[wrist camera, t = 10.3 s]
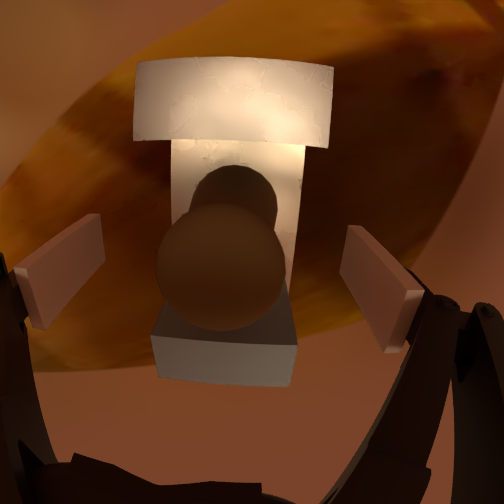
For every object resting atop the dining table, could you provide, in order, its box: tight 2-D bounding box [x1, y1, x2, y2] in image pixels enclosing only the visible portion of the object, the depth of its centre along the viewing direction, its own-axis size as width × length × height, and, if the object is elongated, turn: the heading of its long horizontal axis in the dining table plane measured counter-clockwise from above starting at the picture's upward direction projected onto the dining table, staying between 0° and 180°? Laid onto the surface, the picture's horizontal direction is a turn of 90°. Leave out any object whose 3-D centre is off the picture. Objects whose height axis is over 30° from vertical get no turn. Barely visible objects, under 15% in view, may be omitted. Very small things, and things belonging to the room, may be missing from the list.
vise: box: [133, 57, 334, 294], centre depth 17 cm, size 9×17×9 cm, turn 177°
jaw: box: [150, 279, 298, 387], centre depth 19 cm, size 8×4×8 cm, turn 87°
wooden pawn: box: [156, 165, 286, 331], centre depth 15 cm, size 6×6×11 cm
